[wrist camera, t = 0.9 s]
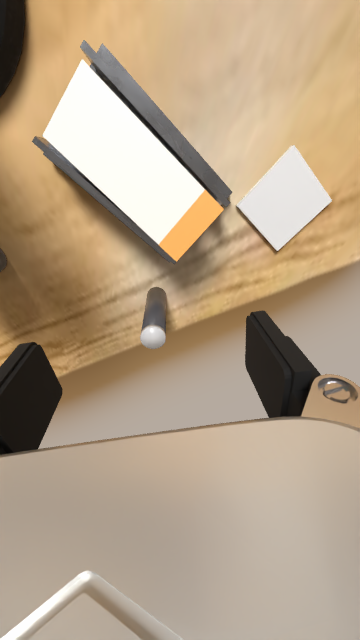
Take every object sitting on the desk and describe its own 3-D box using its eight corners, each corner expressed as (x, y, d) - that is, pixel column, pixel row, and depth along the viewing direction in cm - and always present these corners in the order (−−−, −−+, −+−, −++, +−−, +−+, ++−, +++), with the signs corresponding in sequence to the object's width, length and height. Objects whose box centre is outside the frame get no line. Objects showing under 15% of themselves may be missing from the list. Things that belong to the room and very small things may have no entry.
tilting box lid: (49, 139, 24) (42, 135, 23) (88, 66, 22) (82, 58, 20) (177, 259, 28) (176, 261, 27) (223, 209, 25) (224, 209, 24)
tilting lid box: (50, 155, 30) (20, 150, 24) (106, 51, 25) (87, 14, 19) (169, 258, 37) (169, 275, 31) (228, 191, 32) (243, 195, 26)
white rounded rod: (155, 283, 39) (151, 323, 28) (169, 294, 40) (170, 337, 30) (143, 296, 40) (135, 339, 29) (157, 307, 41) (154, 352, 31)
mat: (291, 145, 30) (294, 145, 30) (328, 200, 34) (332, 200, 33) (236, 205, 33) (237, 206, 33) (275, 249, 37) (277, 251, 36)
